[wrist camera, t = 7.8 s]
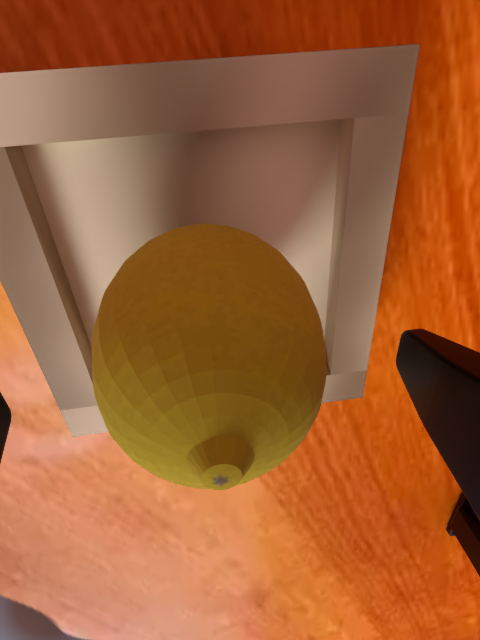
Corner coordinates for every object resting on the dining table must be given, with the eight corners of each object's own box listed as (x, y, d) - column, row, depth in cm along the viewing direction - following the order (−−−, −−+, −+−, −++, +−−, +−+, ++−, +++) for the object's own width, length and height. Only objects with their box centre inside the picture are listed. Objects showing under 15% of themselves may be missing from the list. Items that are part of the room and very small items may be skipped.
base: (362, 54, 12) (420, 44, 9) (334, 348, 18) (362, 397, 16) (-19, 81, 11) (-93, 79, 8) (91, 378, 18) (72, 436, 15)
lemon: (96, 209, 11) (-42, 391, 4) (275, 177, 11) (403, 307, 5) (147, 351, 14) (110, 588, 7) (288, 324, 14) (377, 534, 8)
